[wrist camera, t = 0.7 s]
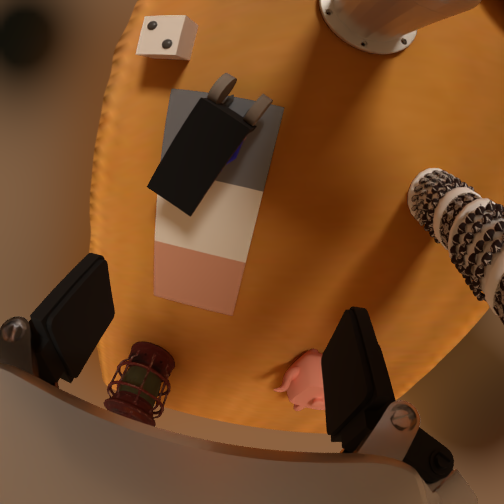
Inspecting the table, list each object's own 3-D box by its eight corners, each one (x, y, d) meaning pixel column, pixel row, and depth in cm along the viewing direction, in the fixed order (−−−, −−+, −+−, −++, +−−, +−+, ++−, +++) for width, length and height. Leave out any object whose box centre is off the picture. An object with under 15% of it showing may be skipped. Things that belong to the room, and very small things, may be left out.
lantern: (169, 379, 60) (134, 488, 34) (124, 356, 58) (76, 462, 32) (186, 356, 54) (145, 488, 28) (133, 330, 52) (73, 455, 26)
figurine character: (228, 77, 29) (164, 176, 34) (218, 64, 22) (141, 188, 28) (274, 106, 30) (206, 203, 36) (277, 99, 23) (193, 222, 29)
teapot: (352, 338, 47) (360, 383, 38) (349, 374, 53) (355, 414, 44) (276, 347, 50) (273, 392, 41) (284, 381, 55) (282, 421, 47)
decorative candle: (462, 171, 30) (588, 266, 8) (447, 229, 34) (542, 349, 13) (411, 158, 30) (551, 260, 9) (399, 222, 35) (490, 364, 13)
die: (162, 25, 24) (144, 16, 20) (198, 25, 25) (185, 15, 20) (153, 58, 27) (135, 54, 23) (190, 60, 27) (175, 54, 23)
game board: (172, 88, 29) (171, 88, 29) (284, 107, 29) (284, 107, 29) (154, 294, 46) (154, 295, 46) (232, 314, 46) (232, 316, 46)
